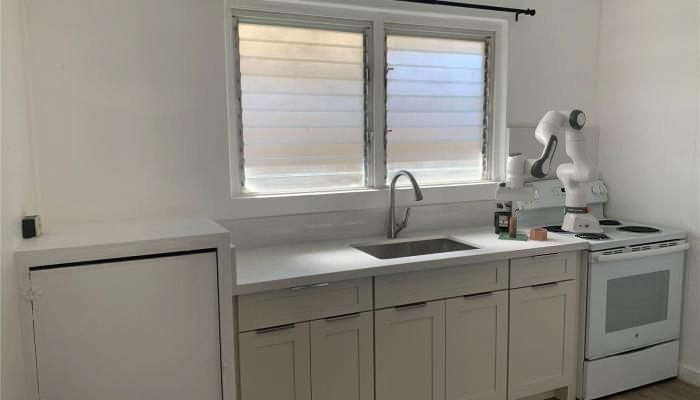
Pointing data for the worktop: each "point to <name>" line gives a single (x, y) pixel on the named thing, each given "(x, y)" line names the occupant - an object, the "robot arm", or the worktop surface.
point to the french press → (503, 213)
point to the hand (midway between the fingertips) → (514, 209)
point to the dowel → (513, 227)
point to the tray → (506, 237)
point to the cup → (538, 234)
